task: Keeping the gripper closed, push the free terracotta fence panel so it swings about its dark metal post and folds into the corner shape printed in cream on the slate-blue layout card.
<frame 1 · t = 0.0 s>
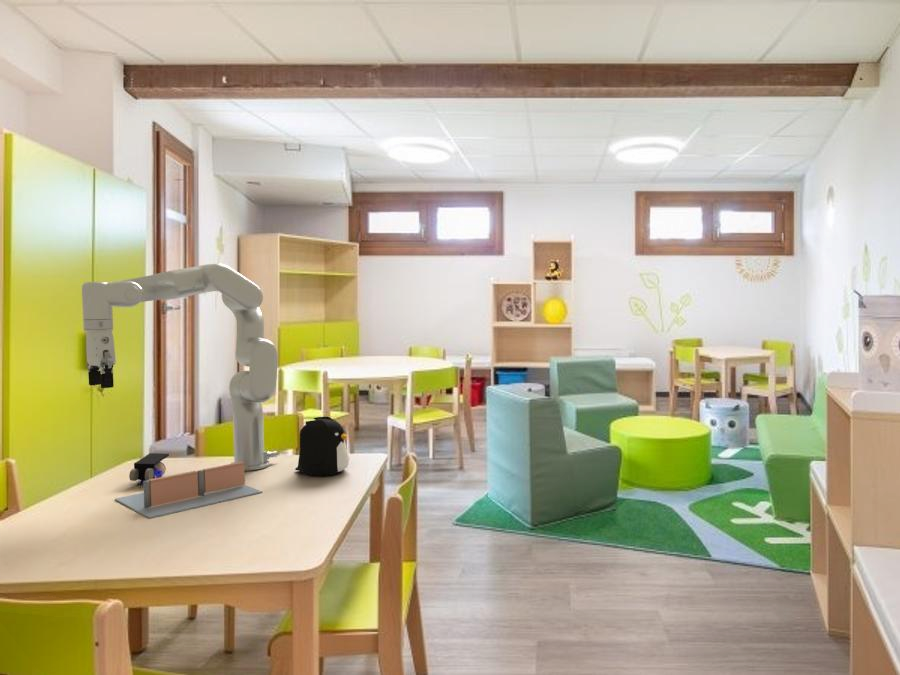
hand: (101, 386, 201), 31 cm above the table, tool pointing down, fingers open, 9 cm apart
black toy car: (150, 482, 218), on the table
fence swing: (224, 477, 204), point 4 cm above the table, hinge at 0.0°
penguin: (321, 473, 225), on the table
fence fixed: (201, 496, 200), resting on layout card
layout card: (189, 496, 200), on the table
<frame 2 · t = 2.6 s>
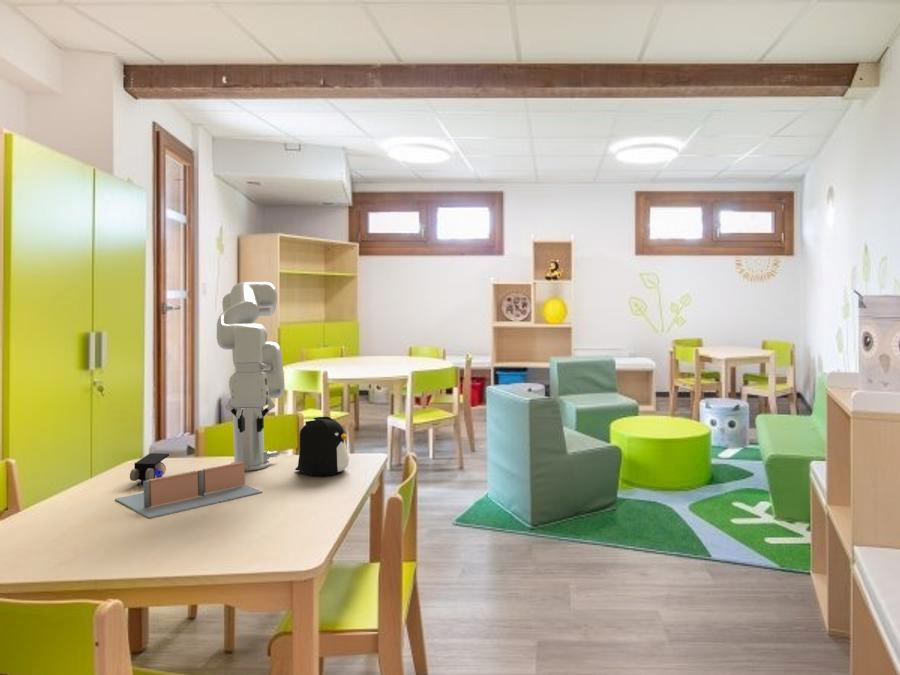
hand: (250, 430, 205), 17 cm above the table, tool pointing down, fingers open, 4 cm apart
nothing on the table moved.
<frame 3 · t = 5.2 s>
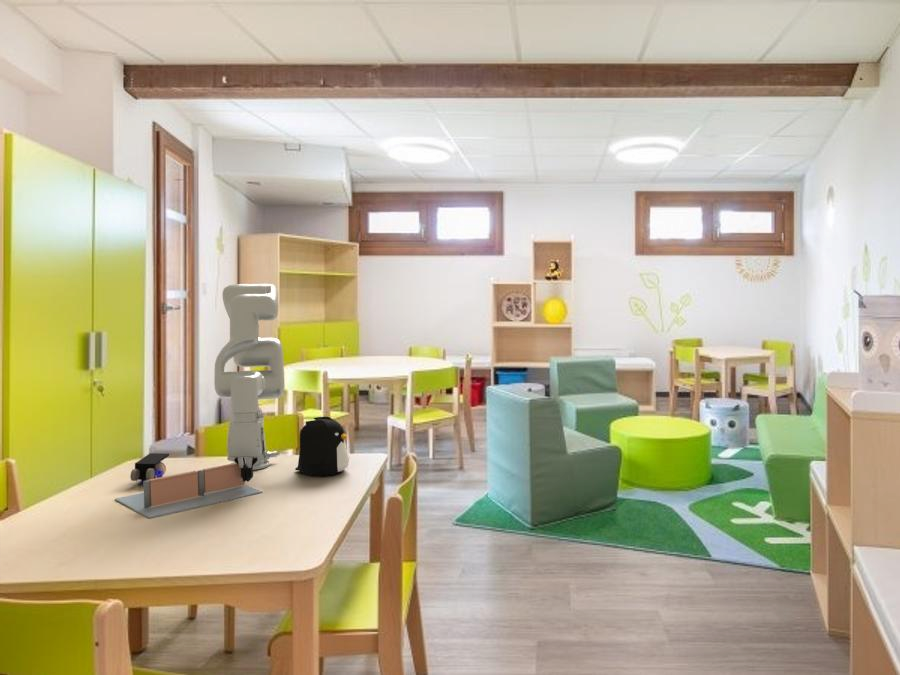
hand: (247, 480, 206), 3 cm above the table, tool pointing down, fingers closed
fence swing: (224, 477, 204), point 4 cm above the table, hinge at 0.0°, touching gripper
everything else where it was.
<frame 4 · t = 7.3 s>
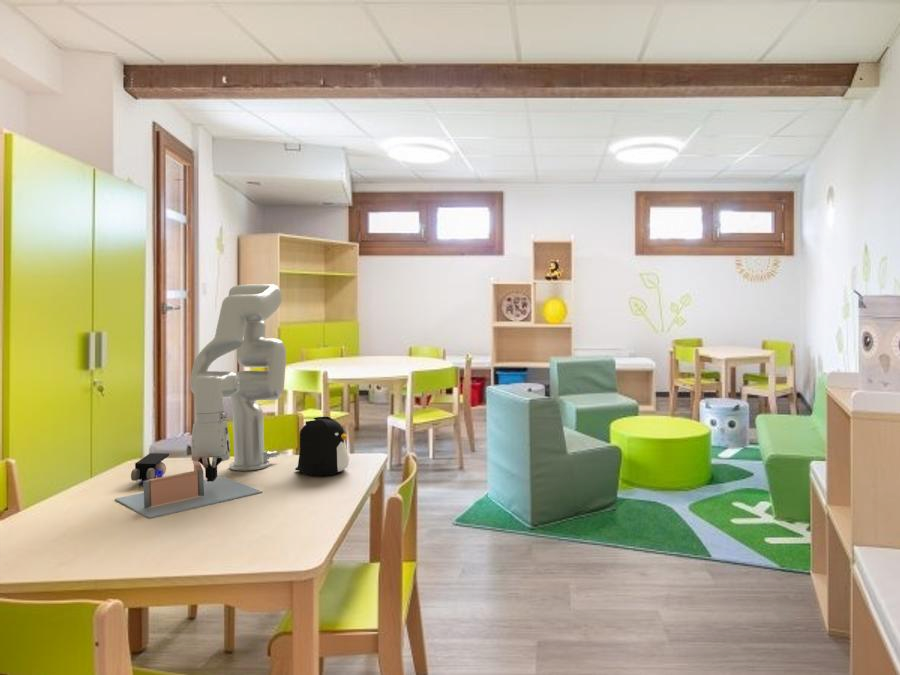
hand: (211, 480, 206), 3 cm above the table, tool pointing down, fingers closed
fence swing: (198, 476, 206), point 4 cm above the table, hinge at 70.5°, touching gripper
everything else where it was.
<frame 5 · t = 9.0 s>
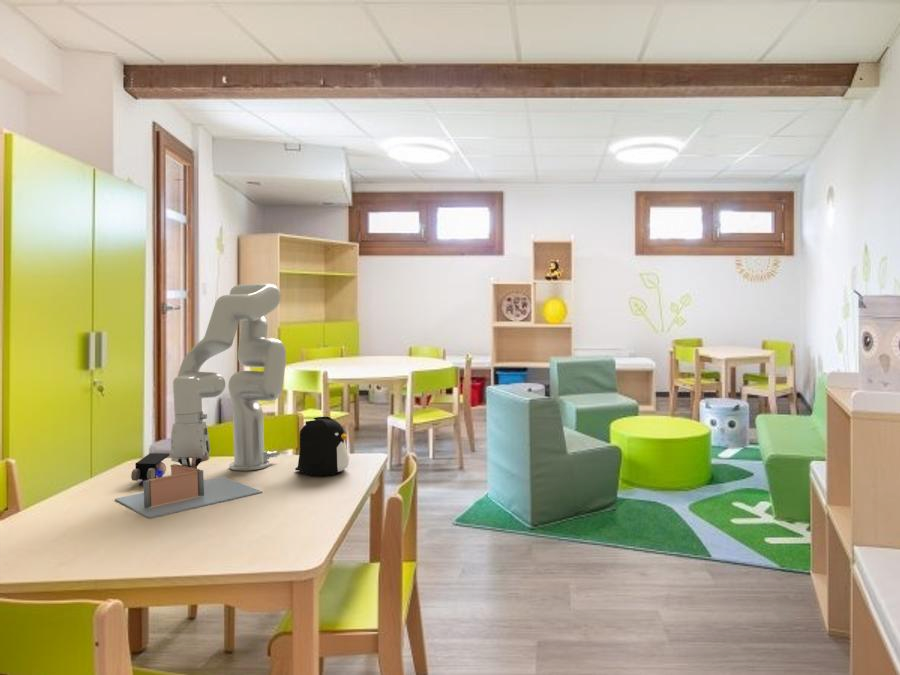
hand: (191, 480, 207), 3 cm above the table, tool pointing down, fingers closed
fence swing: (185, 478, 203), point 4 cm above the table, hinge at 100.1°, touching gripper
everything else where it was.
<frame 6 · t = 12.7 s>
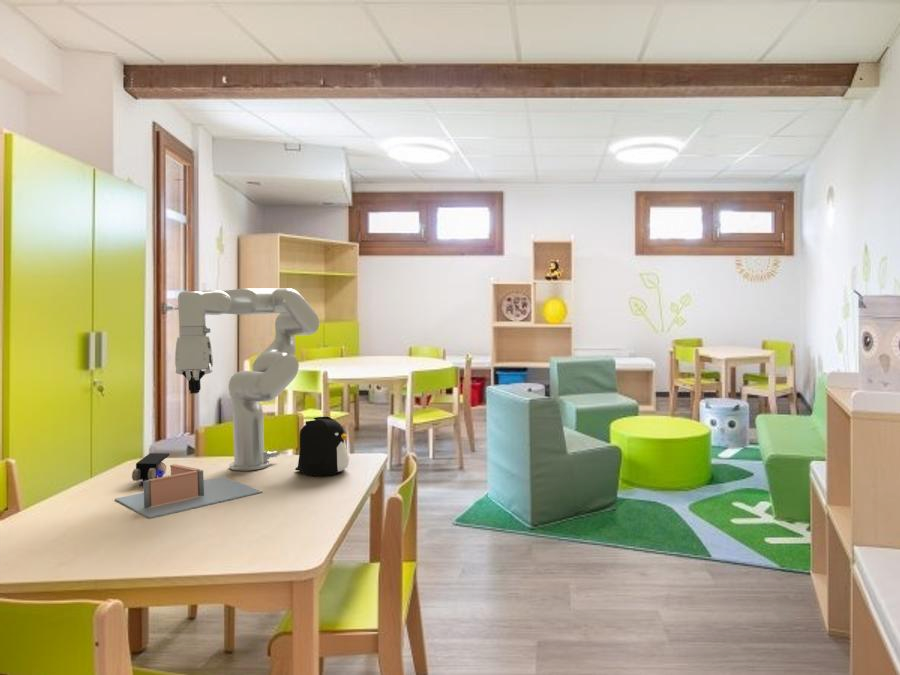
hand: (194, 392, 215), 27 cm above the table, tool pointing down, fingers closed
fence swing: (185, 478, 203), point 4 cm above the table, hinge at 100.6°
everything else where it was.
at the end: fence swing at +101° (first picture: +0°) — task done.
